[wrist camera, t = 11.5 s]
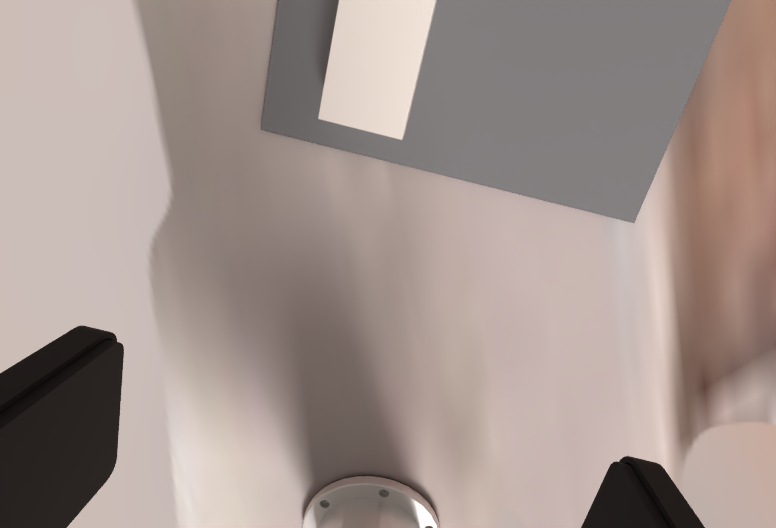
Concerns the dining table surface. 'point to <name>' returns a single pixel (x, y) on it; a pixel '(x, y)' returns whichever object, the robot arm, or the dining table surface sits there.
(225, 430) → the dining table surface
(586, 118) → the mat
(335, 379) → the dining table surface
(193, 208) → the dining table surface
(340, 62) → the white rectangular block
